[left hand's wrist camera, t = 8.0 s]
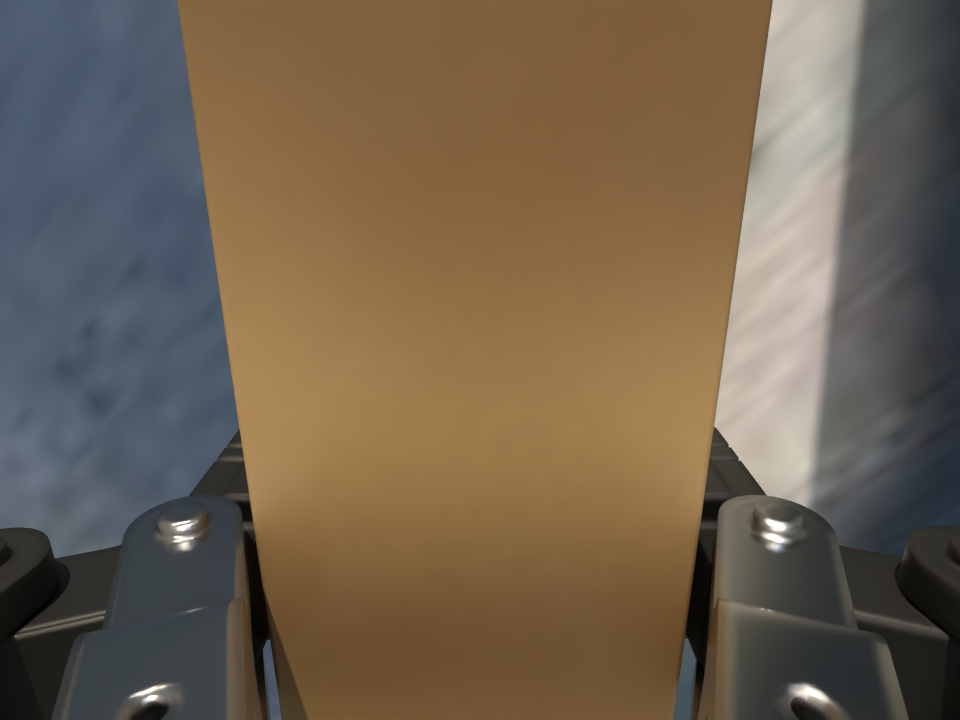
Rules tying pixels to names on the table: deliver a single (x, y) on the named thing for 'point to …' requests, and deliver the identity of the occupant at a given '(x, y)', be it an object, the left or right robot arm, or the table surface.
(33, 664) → the left robot arm
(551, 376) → the beam
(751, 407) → the table surface
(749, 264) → the table surface
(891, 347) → the table surface
